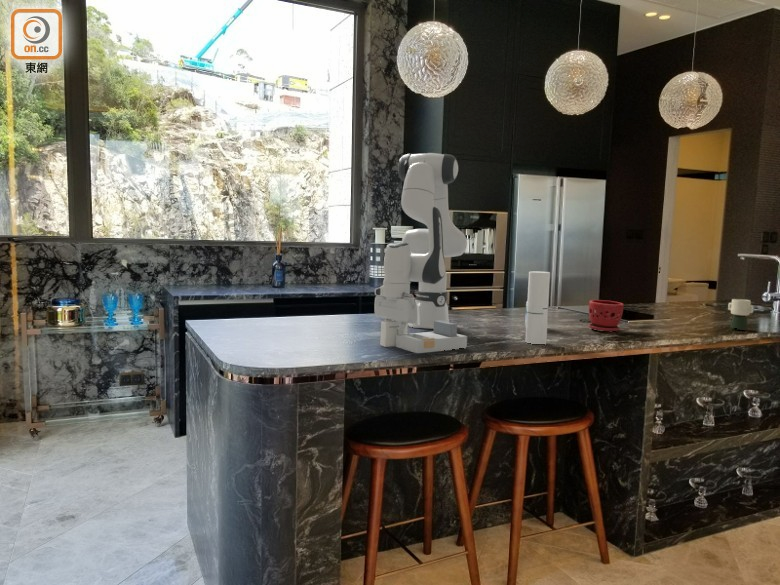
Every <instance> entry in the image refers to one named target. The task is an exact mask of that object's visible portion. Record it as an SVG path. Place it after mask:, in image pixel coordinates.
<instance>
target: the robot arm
mask: <svg viewBox="0 0 780 585" xmlns="http://www.w3.org/2000/svg"><path fill="white" fill-rule="evenodd" d="M397 172H398V173H397V174H398V177H399V179H400V180H401V181H403V187H402V192H401V200H400V201H401V202H400V203H401V204H400V205H401V208H402V211H403V212H404V214H405V215H407V216H408V217H409V218H411V219H412V220H415V221H417V222H419V223H422V224H423V225H425V226H426V227H427V228H415V229H414V228H413V229H409V230H407V231H405V233H404V234H403V236H402V238H401V241H397V242H390V243H388V244H387V245H386V247H385V252H384V260H383V273H384V277H383V280H382V285H381V286H379V287H376V288H375V289H374V295H375V297H374V315H375V317H377V318H382V319H384V320H383V321H392V320H396V321H399V325H400V326H399V329H397V335H403V334H404V329H405V327H406V323H408V327H410V328H412V327H413V329H414V328H416V329H417V328H418V329H419V328H420V329H433V330H434V321H439V320H442V321H446V322H450V320H449V307H448V306H449V305H448V304H447V301H448V291H447V283H448V282H447V281H448V280H447V279H448V277H447V276H448V274H447V271H446V264H445V263H446V262H445V258H452V257H453V258H454V257H460V256H462V255H463V254H464V253H465V252H466V250H467V246H468V241H467V237H466V235H465V233H464V232H463V231H461V229H459V228H458V227H457V226H455V224H454V222H453V221H452V219H451V216H450V211H449V187H448V185H449V184H451V183H453V182H454V181H456V179H457V176H458V172H459V164H458V160H457V158H456V157H455V156H454V155H452V154H447V153H443V154H442V153H436V152H427V153H425V152H424V153H407V154H403V155H402V156H401V157H400V158H399V160H398V164H397ZM411 282H413V283H414V282H416V283H418V291H415V292H414V293H415V294H414V293H411V292H410V289H411ZM414 295H415V296H414Z"/></svg>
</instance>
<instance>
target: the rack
mask: <svg viewBox="0 0 780 585" xmlns="http://www.w3.org/2000/svg"><path fill="white" fill-rule="evenodd" d="M467 343H468V336H467V335H463V334H460V333H458V323H454V322H450V321H449V322H446V321H442V320H439V321H434V329H433V331H426V332H425V331H424V332H413V333H412V332H410V333H407V334H403V335H396V346H395V348H398V349H402V350H404V351H408V352H412V353H415V354H425V353H435V352H442V351H443V352H445V351H452V349H455V350H460V349H459V348H464V349H467V348H466V347H467V346H468V344H467ZM444 350H445V351H444Z"/></svg>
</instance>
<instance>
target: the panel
mask: <svg viewBox="0 0 780 585" xmlns="http://www.w3.org/2000/svg"><path fill="white" fill-rule="evenodd" d="M399 326H400V325H399V321H396V320H392V321H384V320H382V321H380V341H379V344H380V346H382V347H384V348H387V347H389V348H390V347H396V335H397V329H399ZM408 328H409V326H408V323H406V327H405V329H404V334H408Z"/></svg>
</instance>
